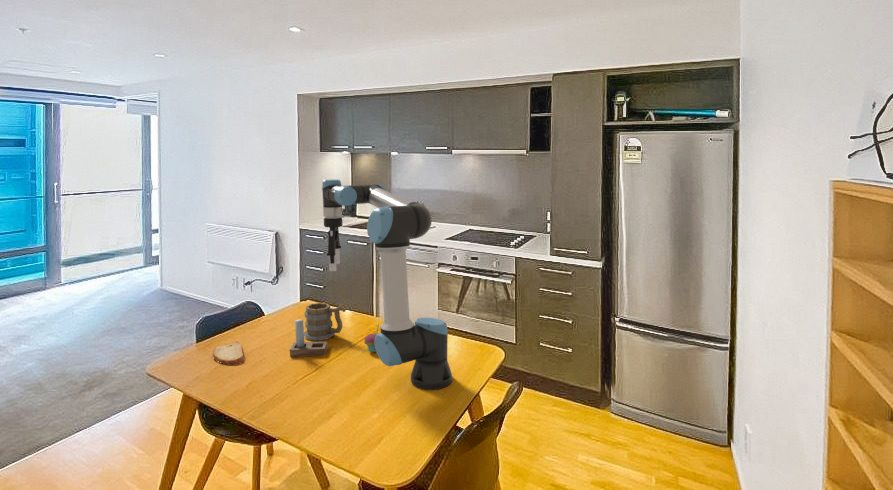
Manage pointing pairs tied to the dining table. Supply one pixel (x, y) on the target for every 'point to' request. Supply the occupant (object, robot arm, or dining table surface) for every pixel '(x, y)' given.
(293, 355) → the hole block
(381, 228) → the robot arm
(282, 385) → the dining table surface
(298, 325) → the dowel
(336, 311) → the tankard
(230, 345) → the bread slice
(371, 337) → the cupcake
